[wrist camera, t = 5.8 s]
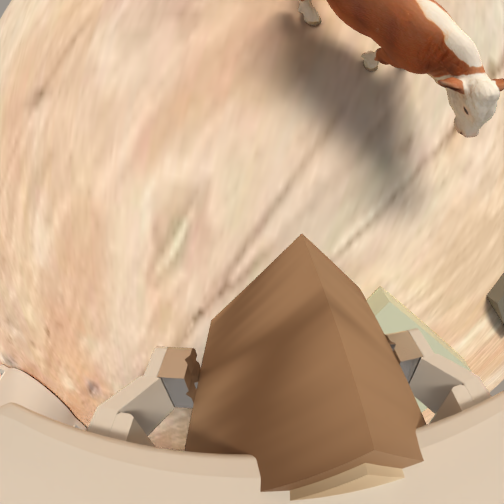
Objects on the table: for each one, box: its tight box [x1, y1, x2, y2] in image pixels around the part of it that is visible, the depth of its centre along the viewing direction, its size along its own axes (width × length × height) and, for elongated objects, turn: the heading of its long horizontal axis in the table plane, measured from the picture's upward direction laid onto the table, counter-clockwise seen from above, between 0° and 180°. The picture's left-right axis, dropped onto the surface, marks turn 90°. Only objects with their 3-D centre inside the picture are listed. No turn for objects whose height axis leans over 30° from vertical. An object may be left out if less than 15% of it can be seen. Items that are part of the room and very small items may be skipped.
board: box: [366, 287, 472, 412], centre depth 22 cm, size 14×18×2 cm
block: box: [185, 234, 426, 501], centre depth 9 cm, size 6×4×9 cm, turn 138°
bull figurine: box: [298, 0, 504, 137], centre depth 8 cm, size 4×13×8 cm, turn 46°
